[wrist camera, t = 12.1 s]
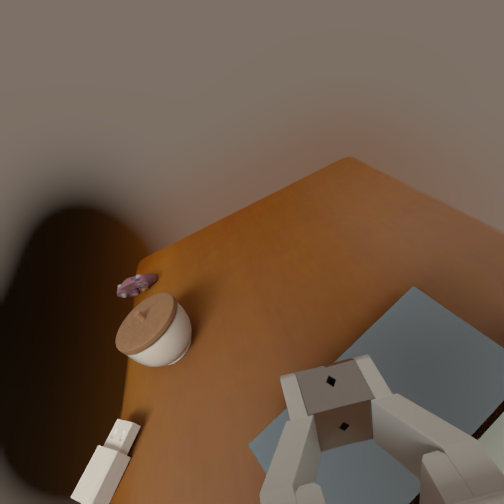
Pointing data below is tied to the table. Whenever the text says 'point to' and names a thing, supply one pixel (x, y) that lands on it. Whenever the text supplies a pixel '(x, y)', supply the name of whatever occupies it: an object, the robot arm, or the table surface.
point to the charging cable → (107, 465)
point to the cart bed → (495, 442)
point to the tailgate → (407, 395)
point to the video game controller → (135, 285)
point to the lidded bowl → (155, 331)
